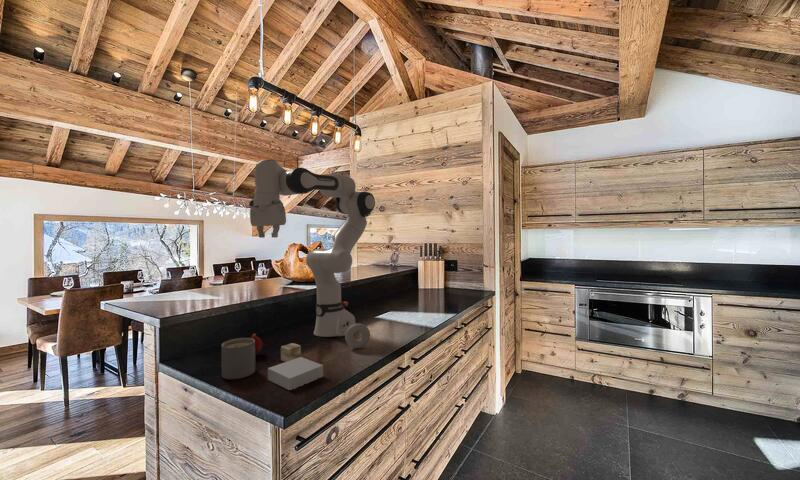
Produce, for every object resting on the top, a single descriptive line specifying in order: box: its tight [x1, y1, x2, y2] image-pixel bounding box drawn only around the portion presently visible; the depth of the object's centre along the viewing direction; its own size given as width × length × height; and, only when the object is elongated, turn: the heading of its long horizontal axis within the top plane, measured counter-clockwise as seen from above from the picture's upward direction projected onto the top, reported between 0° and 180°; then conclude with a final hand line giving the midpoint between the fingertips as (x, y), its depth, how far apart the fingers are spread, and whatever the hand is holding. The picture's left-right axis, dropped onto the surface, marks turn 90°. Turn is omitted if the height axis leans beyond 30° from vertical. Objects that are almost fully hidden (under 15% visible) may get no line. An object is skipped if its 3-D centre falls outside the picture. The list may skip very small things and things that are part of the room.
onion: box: [250, 333, 263, 356], centre depth 123 cm, size 6×6×8 cm
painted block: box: [267, 356, 324, 391], centre depth 102 cm, size 12×12×4 cm
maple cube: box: [280, 342, 302, 363], centre depth 118 cm, size 5×5×5 cm
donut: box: [344, 322, 371, 349], centre depth 129 cm, size 10×4×10 cm, turn 102°
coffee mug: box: [220, 337, 256, 380], centre depth 109 cm, size 13×10×10 cm
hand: (268, 237), depth 125 cm, fingers open, 8 cm apart
